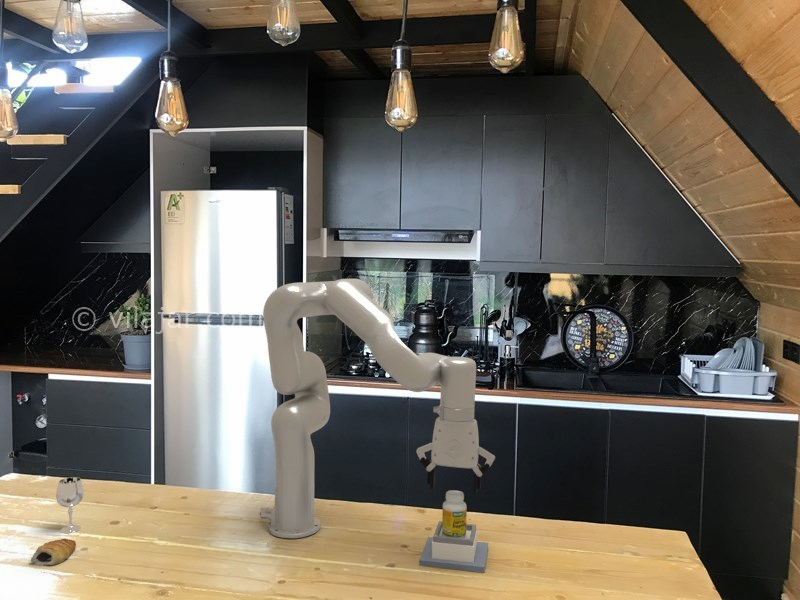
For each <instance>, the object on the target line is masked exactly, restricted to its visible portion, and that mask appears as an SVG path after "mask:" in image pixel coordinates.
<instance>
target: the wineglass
mask: <svg viewBox="0 0 800 600" xmlns="http://www.w3.org/2000/svg"><path fill="white" fill-rule="evenodd" d="M55 498H56V502H57V503H58V505H59V506H61V507H64V508H67V512H68V513H67V514H68V519H69V522H68V525H67V526H64V527H62V528H61V529H60V530H59V531H60V533H61V534H71V533H77V532H78V531H80V530H81V529H82V527H81V526H80V525H77V524H73V522H72V517H73V511H74V510H73V507H75V506H77V505H78V504H80V503H81V502H82V501H83V498H84V486H83V483H82V479H81V478H80V477H79V476H78V477H73V476H70V477H65V478H62V479H60V480H59V481H58V484H57V488H56V497H55Z"/></svg>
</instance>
